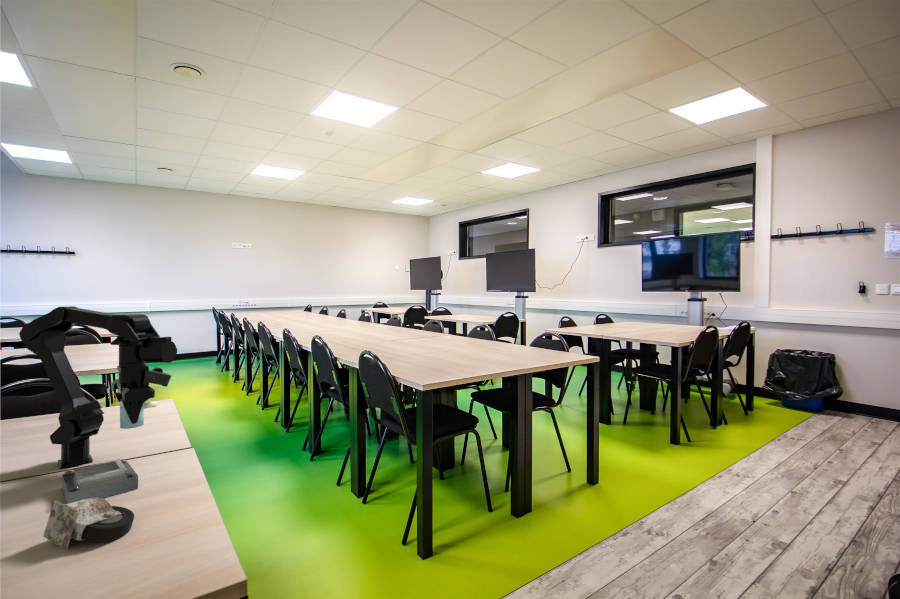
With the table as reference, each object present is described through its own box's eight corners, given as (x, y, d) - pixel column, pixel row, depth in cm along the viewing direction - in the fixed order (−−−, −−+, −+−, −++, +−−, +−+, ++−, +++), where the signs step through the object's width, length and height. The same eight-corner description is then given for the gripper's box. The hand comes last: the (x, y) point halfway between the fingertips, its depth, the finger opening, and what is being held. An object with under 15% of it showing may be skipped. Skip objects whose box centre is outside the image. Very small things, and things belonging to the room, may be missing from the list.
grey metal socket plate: (61, 487, 98) (62, 468, 98) (126, 472, 107) (126, 454, 107) (68, 507, 89) (68, 485, 89) (138, 488, 98) (138, 469, 98)
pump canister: (117, 426, 112) (116, 400, 112) (153, 419, 117) (153, 395, 117) (121, 430, 108) (121, 404, 108) (158, 423, 114) (158, 398, 114)
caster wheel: (137, 541, 82) (79, 564, 72) (98, 518, 85) (38, 537, 76) (148, 506, 82) (91, 525, 73) (109, 485, 86) (51, 500, 76)
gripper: (178, 362, 111) (177, 422, 111) (159, 355, 124) (158, 408, 124) (125, 367, 103) (124, 431, 103) (111, 359, 116) (110, 416, 116)
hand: (132, 421), depth 112 cm, fingers closed on pump canister, 5 cm apart
